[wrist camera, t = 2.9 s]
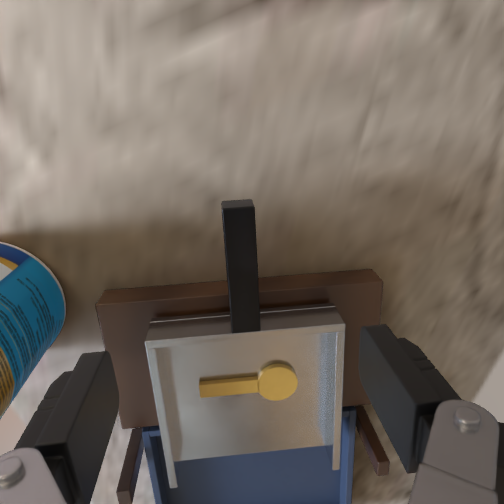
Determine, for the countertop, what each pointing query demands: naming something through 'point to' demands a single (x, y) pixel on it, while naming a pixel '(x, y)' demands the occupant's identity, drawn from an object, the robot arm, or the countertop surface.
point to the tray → (257, 474)
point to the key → (255, 384)
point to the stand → (217, 300)
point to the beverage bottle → (25, 317)
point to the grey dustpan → (246, 366)
